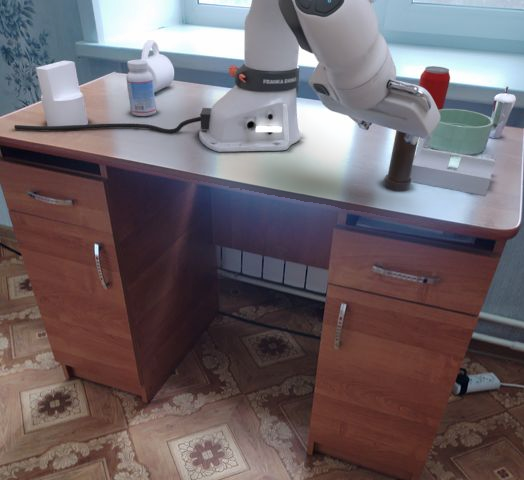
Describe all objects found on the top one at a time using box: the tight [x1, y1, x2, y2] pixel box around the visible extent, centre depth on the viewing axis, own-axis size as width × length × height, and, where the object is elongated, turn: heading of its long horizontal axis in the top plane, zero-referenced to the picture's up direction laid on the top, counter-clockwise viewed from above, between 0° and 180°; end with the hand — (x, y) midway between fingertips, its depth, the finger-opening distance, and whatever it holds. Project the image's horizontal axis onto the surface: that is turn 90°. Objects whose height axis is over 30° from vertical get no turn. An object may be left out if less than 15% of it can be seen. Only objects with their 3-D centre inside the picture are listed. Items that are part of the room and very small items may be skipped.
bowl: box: [429, 108, 493, 156], centre depth 110 cm, size 13×13×6 cm
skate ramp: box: [410, 135, 497, 197], centre depth 97 cm, size 15×13×5 cm
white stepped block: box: [35, 60, 89, 126], centre depth 112 cm, size 9×9×12 cm
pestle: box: [383, 130, 419, 192], centre depth 90 cm, size 5×5×12 cm
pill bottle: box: [125, 59, 157, 117], centre depth 120 cm, size 6×6×11 cm
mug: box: [128, 39, 175, 94], centre depth 136 cm, size 8×10×12 cm
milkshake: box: [489, 85, 517, 139], centre depth 115 cm, size 5×5×10 cm
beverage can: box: [418, 65, 451, 110], centre depth 120 cm, size 7×7×12 cm
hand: (389, 132), depth 84 cm, fingers open, 8 cm apart
